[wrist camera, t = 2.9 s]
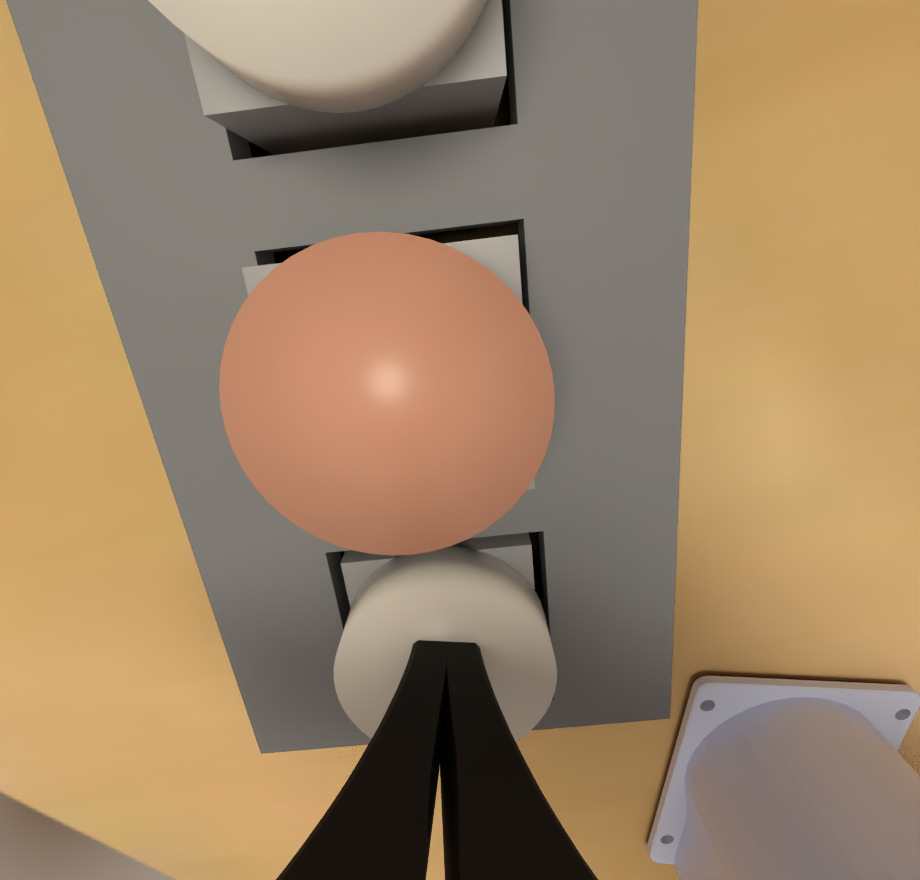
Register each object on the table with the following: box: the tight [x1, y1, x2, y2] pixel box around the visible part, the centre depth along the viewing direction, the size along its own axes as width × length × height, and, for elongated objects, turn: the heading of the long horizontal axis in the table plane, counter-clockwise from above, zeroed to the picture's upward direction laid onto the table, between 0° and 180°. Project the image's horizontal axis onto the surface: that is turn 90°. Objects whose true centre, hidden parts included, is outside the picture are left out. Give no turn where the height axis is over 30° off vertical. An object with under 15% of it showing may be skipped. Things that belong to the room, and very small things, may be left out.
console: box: [6, 0, 698, 754], centre depth 12 cm, size 20×11×4 cm, turn 6°
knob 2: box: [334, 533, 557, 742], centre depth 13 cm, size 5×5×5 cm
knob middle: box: [219, 232, 555, 556], centre depth 10 cm, size 5×5×5 cm
